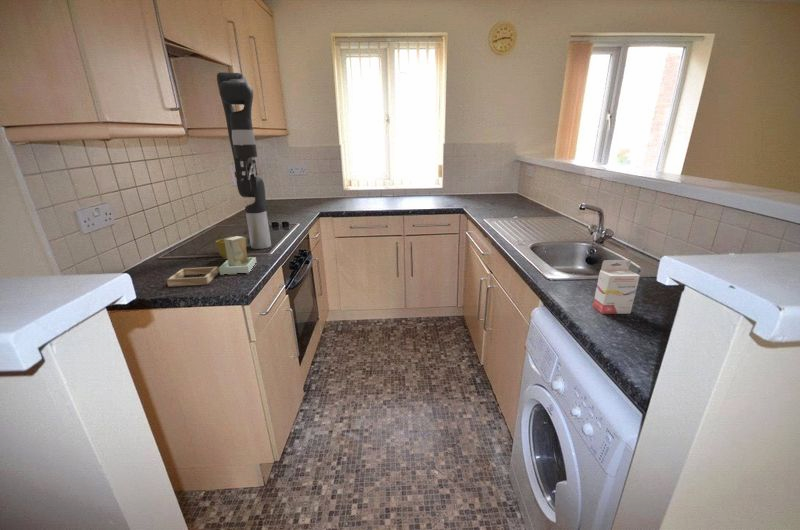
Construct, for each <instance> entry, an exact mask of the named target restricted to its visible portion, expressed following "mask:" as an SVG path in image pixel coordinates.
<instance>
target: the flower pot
mask: <svg viewBox="0 0 800 530" xmlns="http://www.w3.org/2000/svg"><path fill="white" fill-rule="evenodd" d="M231 237H232V236H227V237H224V238H221V239H218V240H216V241H215V242H214V243H215V245H216V247H217V251H218V253H219V255H220V256H221V257H222V258H223V259H224V260H225V259H227V253H226V247H225V241H224V239H227V238H231ZM244 238H245V245H246V246H247V237H244Z"/></svg>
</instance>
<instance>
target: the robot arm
mask: <svg viewBox="0 0 800 530" xmlns="http://www.w3.org/2000/svg"><path fill="white" fill-rule="evenodd" d="M216 82H217V87H218V91H219V96H220V99H221V103H222V108H223V112H224V115H225V116H224V117H225V120H226V127H227V128H226V129H227V133H228V138H229V143H230V149H231V151H232V157H233V163H234V170H235V171H234V172H235V177H236V187H237V191H238V193H239V195H240V196H241V197H242V198H254V201H253V202H252V203H250V204H248V205H246V206H245V207H244V209H245V216H246V223H247V228H248V236H249V241H250V247H251V249H254V250H260V249H262V250H263V249H267V248H270V247H272V242H271V240H272V239H271V234H270V227H269V226H270V225H269V220H268V212H267V200H266V189H265V187H266V185H265V182H264V180H263V179H262V177H259V176H258V170H257V164H256V159H253V158H257V157H258V153H257V152H258V151H257V144H256V143H257V142H256V137H255V134H254V128H253V123H252V122H253V121H252V107H253V101H254V90H253V88H252V86H251V84H249V83H248V82H247V79H246V77H245V75H244V74H242V73H239V72H217V74H216ZM233 105H243V108H242V109H241V110H238V111H237V110H235V108H234V106H233Z"/></svg>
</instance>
